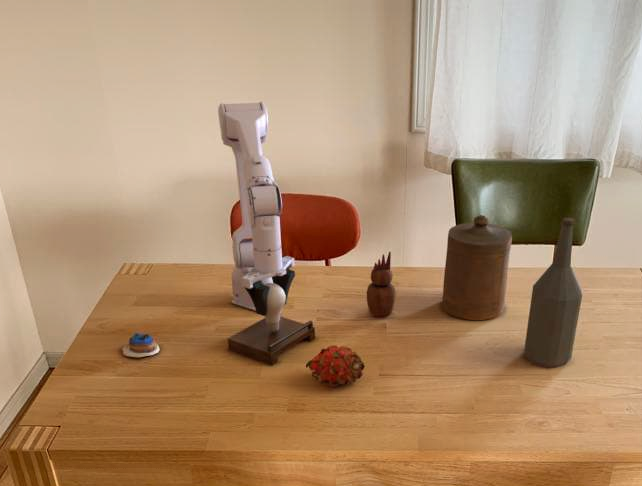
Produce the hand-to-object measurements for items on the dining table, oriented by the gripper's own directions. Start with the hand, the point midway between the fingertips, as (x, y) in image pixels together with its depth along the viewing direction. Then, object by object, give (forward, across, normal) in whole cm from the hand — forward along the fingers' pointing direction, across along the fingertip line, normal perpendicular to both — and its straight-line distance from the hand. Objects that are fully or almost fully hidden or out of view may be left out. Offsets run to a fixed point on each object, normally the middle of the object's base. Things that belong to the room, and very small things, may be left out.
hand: (271, 308), depth 169 cm
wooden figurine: (+8, +26, -11) cm, 29 cm away
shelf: (+8, 0, 0) cm, 8 cm away
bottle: (+8, +29, -52) cm, 60 cm away
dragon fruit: (+8, -6, -21) cm, 23 cm away
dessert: (+8, -19, +21) cm, 30 cm away
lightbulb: (+6, 0, 0) cm, 6 cm away
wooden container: (+8, +42, -27) cm, 51 cm away
